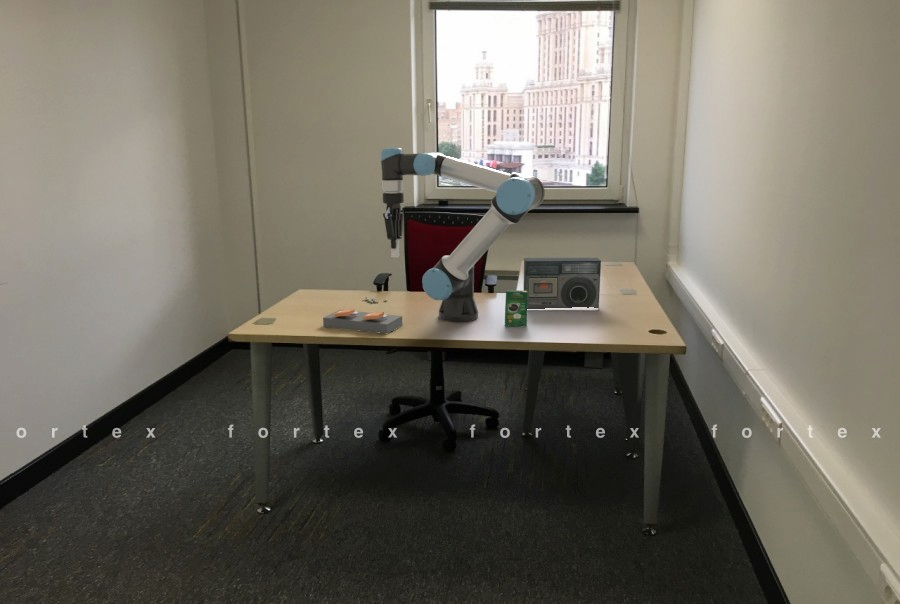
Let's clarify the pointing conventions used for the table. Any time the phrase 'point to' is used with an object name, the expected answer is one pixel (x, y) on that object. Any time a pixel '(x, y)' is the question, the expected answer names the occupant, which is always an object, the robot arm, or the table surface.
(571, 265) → the cassette player
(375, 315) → the rocker
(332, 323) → the grey rectangular block
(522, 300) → the coffee box
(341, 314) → the rocker
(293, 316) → the table surface
